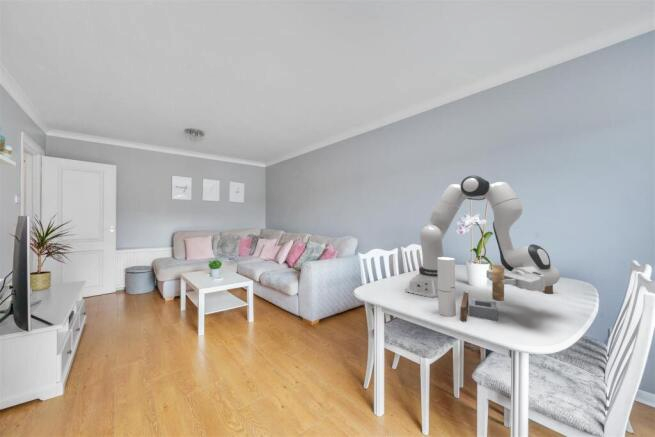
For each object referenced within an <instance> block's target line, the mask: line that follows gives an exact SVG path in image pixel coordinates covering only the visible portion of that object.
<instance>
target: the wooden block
mask: <svg viewBox="0 0 655 437" xmlns="http://www.w3.org/2000/svg"><path fill="white" fill-rule="evenodd" d="M541 293H543V294H545V295H549V294H550V295H553V294H554V284H553V285H551V286H546V287H545V290H544V291H541Z"/></svg>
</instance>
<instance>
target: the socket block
mask: <svg viewBox="0 0 655 437" xmlns="http://www.w3.org/2000/svg"><path fill="white" fill-rule="evenodd" d="M469 317H471V318H476V319H477V318H478V319H482V320H483V319H484V320H490V321H493V322H494V321H496V322H498V306H497V302H495V301H489V300H481V299H476V298H470V300H469Z"/></svg>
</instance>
